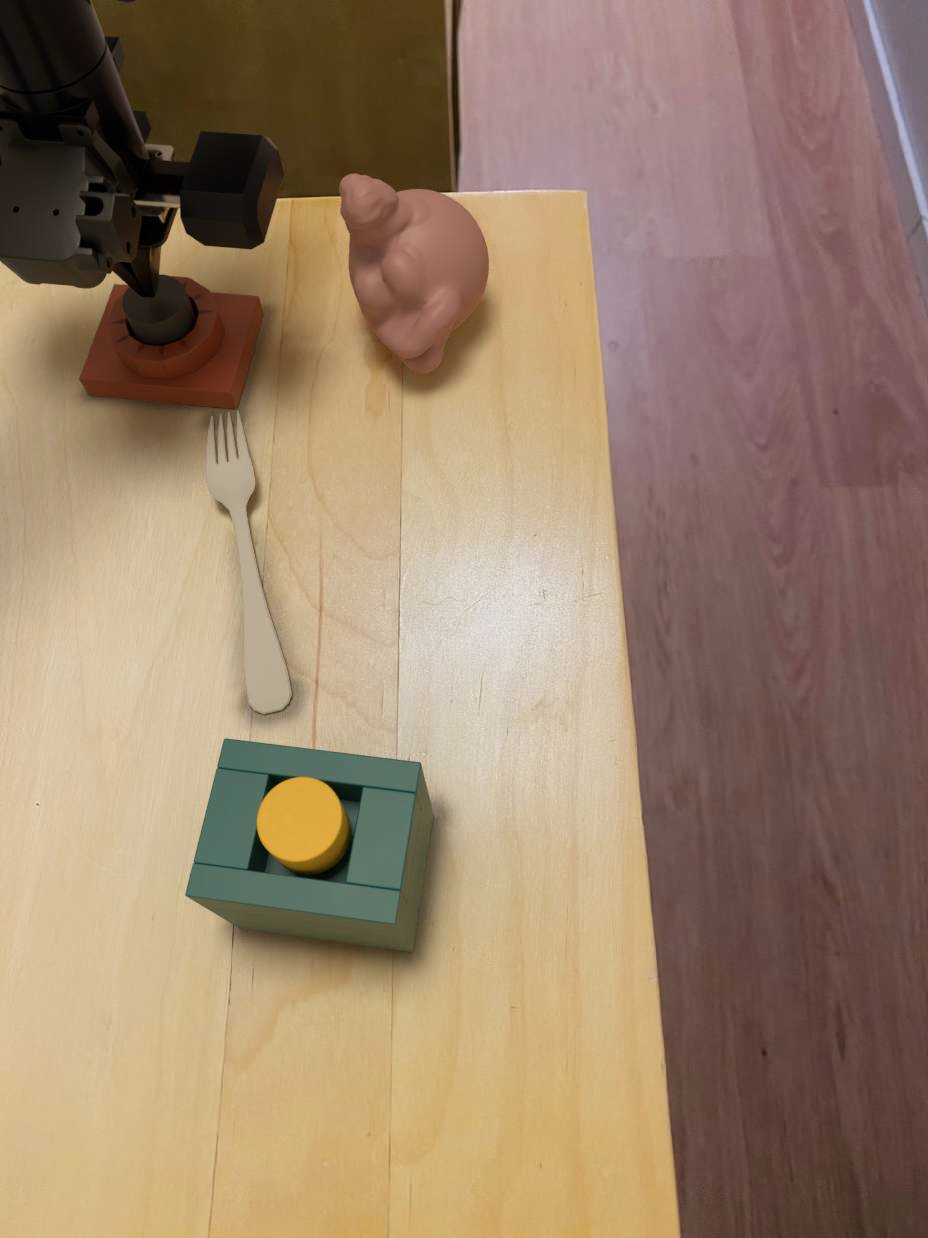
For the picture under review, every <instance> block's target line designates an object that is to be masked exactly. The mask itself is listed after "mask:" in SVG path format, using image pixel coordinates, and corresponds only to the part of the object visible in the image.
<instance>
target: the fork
mask: <svg viewBox="0 0 928 1238" xmlns="http://www.w3.org/2000/svg"><path fill="white" fill-rule="evenodd" d="M231 416H232V415H231V412H230V411H228V412H227V420H226V441H225V430H224V418H223V413H219V418H218V419H219V420H218V428H217V453H216V439H215V426H214V425H215V424H214V423H215V422H214V415H211V416H210V418H209V419H210V420H209V424H208V431H207V438H206V447H205V448H206V449H205V476H206V477H205V478H206V483H207V486H208V491H209V493H210V495H211V496H212V498H213V499H214V500H216V501H217V502H219V503H221V504H222V505H223V506H224V507H225V508H226V509H227V510H228V511H229V514H230V517H231V522H232V526H233V531H234V536H235V542H236V549H237V551H236V552H237V557H238V558H237V559H238V567H239V575H240V576H239V577H240V587H241V588H240V589H241V606H242V607H241V608H242V658H243V659H242V661H243V663H242V664H243V680H244V681H243V682H244V687H245V692H246V698H247V703H248V706H249V707H250V708H251V709H252V710H253V711H255V712H257V713H259V714H262V715H267V714H271V713H275V712H279V711H283V710H284V709H285V708H286V707H287V706H288V704H290V702H291V698H292V696H293V692H292V686H291V682H290V677H289V672H288V667H287V664H286V661H285V657H284V654H283V651H282V647H281V644H280V641H279V638H278V635H277V631H276V629H275V626H274V622H273V620H272V617H271V614H270V611H269V608H268V603H267V601H266V596H265V592H264V589H263V586H262V581H261V578H260V573H259V569H258V564H257V559H256V555H255V550H254V545H253V539H252V535H251V529H250V526H249V525H250V524H249V519H248V512H247V505H248V502H249V500H250V497H251V496H252V494H253V493H254V491H255V487H256V477H255V473H254V466H253V463H252V459H251V456H250V452H249V448H248V444H247V439H246V435H245V429H244V426H243V421H242V418H241V413H240V410H238V409H236V443H235V435H234V429H233V423H232V417H231ZM226 443H227V444H226ZM236 444H237V448H236ZM226 445H227V446H226ZM226 447H227V449H226ZM226 450H227V451H226ZM237 452H238V453H237ZM227 458H228V459H227Z"/></svg>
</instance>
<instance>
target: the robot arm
mask: <svg viewBox="0 0 928 1238" xmlns="http://www.w3.org/2000/svg"><path fill="white" fill-rule="evenodd" d="M116 1H117V2H120V3H126V4H130V3H134V2H136V1H137V0H116ZM126 57H127V55H126V52H125V50H124V47H123V44H122V41H121V38H120V36H114V35H113V36H112V35H105V34H104V31H103V28H102V26H101V22H100V20H99V18H98V14H97V13H96V9H95V6H94V4H93V2H92V0H0V263H1V264H3V265H4V266H5V267H6V268H8V269H9V270H10V271H11V272H12V273H14V274H15V275H16V276H17V277H18V278H20V279H21V280H22V281H23V282H25V283H27V284H30V285H39V286H40V285H43V284H44V285H45V284H46V285H56V286H69V287H74V288H77V289H85V290H86V289H87V290H88V289H93V288H95V287H98V286H99V285H100V284H102V283H103V282H104V281H105V279H106V278H107V275H111V274H112V272H113V273H114V274H115V275H116V276H117V277H118V278H120V280H122V282H124V283H125V285H128V286H130V287H131V288H132V289H133V290H134V291H135V292H136V293H137V294H138V295H139V296H141V297H148V298H154V297H155V295H156V292H157V289H158V284H159V274H160V268H161V258H162V257H161V255H162V246H164V245H165V243H166V242H167V240H168V239H169V236H170V233H171V230H172V227H173V224H174V222H175V219H176V215H177V214H178V210H179V215H180V217H179V218H180V221H181V224H182V225H183V229H184V231H185V234H186V235H188V236H190V237H191V238H192V239H194V240H195V241H196V242H198V243H199V244H201V245H202V246H204V247H213V248H227V249H238V250H241V249H242V250H251V251H252V250H253V249H255V248H257V247H259V246H261V245H263V244H264V243H265V240H266V237H267V234H268V230H269V227H270V224H271V221H272V217H273V214H274V210H275V207H276V203H277V200H278V197H279V193H280V191H281V187H282V183H283V180H284V176H285V173H284V169H283V163H282V159H281V156H280V150H279V148H278V147H277V146H276V144H275V143H274V141H272V139H271V138H270V137H268V136H266V135H263V134H251V133H239V132H238V133H237V132H221V131H209V130H208V131H207V130H200V132H199V134H198V138H197V140H196V143H195V146H194V148H193V151H192V154H191V158H190V160H189V161H177V160H175V159H174V158H175V155H176V152H175V151H176V150H175V148H174V147H173V145H171V144H170V145H168V144H155V143H147V141H148V139H149V136H150V133H151V131H152V125H151V122H150V119H149V116H148V113H147V111H146V110H135V109H132V106H131V105H132V104H131V102H130V101H129V98H128V94H127V92H126V90H125V89H126V88H125V87H124V84H123V82H122V79H121V76H120V74H119V73H120V71H121V69H122V66H123V64H124V62H125V59H126Z"/></svg>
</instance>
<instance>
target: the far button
mask: <svg viewBox="0 0 928 1238" xmlns="http://www.w3.org/2000/svg"><path fill="white" fill-rule="evenodd" d="M171 276H172V275H168V274H161V273H159V284H158V289H157V292H156V295H155V297H154V298H148V297H141V296H139V295H138V294H137V293H136V292H135V291H134V290H133V289H132V288H131V287H130V286H129V287H128V289H127V290H126V291H125V293H124V295H123V298H122V308H123V311H124V313H125V315H126V317H127V319H128V321H129V324H130V326H131V328H132V330H133V332H134V334H135V335H136V337H137V338H138V339H140V340H141V341H143V342H144V343H147V344H150V345H155V346H163V345H167V344H170V343H173V342H176V341H179V340H181V339H182V338H184V337H185V336H186V335H187V334H188V333H189V332H190V330H191V329H192V327H193V325H194V321H195V314H194V310H193V308H192V305H191V303H190V300H189V298H188V295H187V292H186V290H185V288H184V286H183V284H182V283H181V282H180V281H178V280H177V279H176V278H174V277H171Z"/></svg>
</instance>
